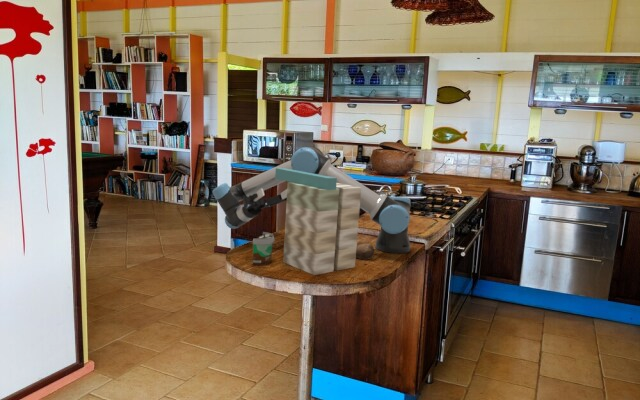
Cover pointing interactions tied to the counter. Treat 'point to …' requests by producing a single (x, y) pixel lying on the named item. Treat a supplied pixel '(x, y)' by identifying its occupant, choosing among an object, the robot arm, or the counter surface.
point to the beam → (306, 178)
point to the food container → (262, 248)
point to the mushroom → (364, 251)
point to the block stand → (321, 227)
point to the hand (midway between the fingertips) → (277, 191)
